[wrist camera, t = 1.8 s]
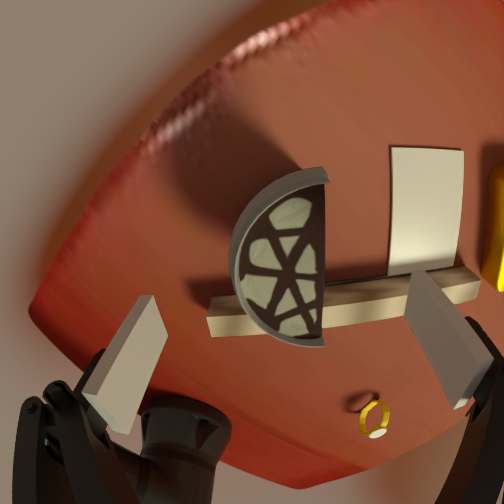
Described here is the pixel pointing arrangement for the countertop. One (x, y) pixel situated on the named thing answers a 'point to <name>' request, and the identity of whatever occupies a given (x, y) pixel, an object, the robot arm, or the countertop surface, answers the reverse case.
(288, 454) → the countertop surface
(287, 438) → the countertop surface
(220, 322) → the maple straightedge
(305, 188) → the food container
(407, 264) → the plate
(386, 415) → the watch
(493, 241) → the element tile
